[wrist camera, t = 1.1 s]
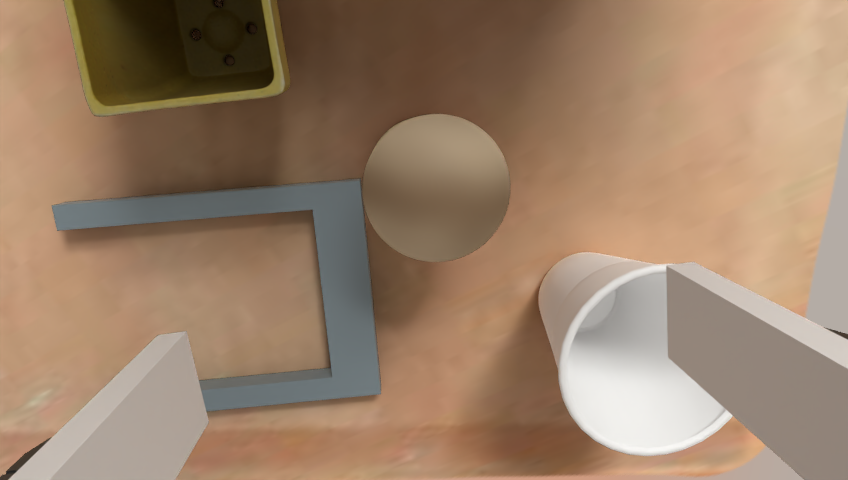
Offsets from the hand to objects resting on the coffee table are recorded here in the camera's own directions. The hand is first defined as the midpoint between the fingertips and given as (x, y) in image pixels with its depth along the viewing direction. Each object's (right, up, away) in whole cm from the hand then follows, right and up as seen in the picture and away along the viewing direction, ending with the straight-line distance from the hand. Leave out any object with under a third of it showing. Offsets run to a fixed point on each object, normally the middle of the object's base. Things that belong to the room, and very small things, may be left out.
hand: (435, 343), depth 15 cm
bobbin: (0, +7, +20) cm, 21 cm away
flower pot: (-12, +15, +17) cm, 26 cm away
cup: (+10, -1, +22) cm, 25 cm away
